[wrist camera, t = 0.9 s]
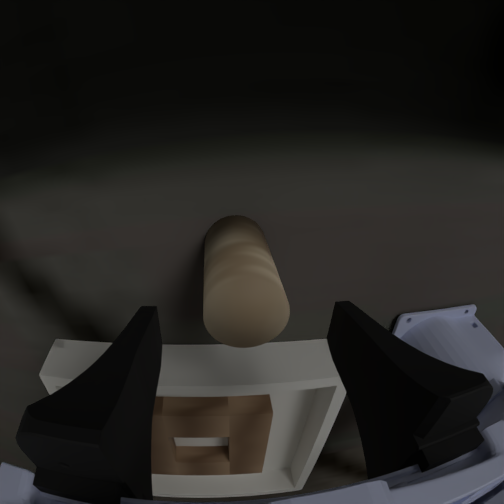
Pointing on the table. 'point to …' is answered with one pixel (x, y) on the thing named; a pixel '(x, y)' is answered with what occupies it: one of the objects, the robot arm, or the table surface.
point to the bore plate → (210, 434)
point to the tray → (236, 384)
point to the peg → (241, 285)
